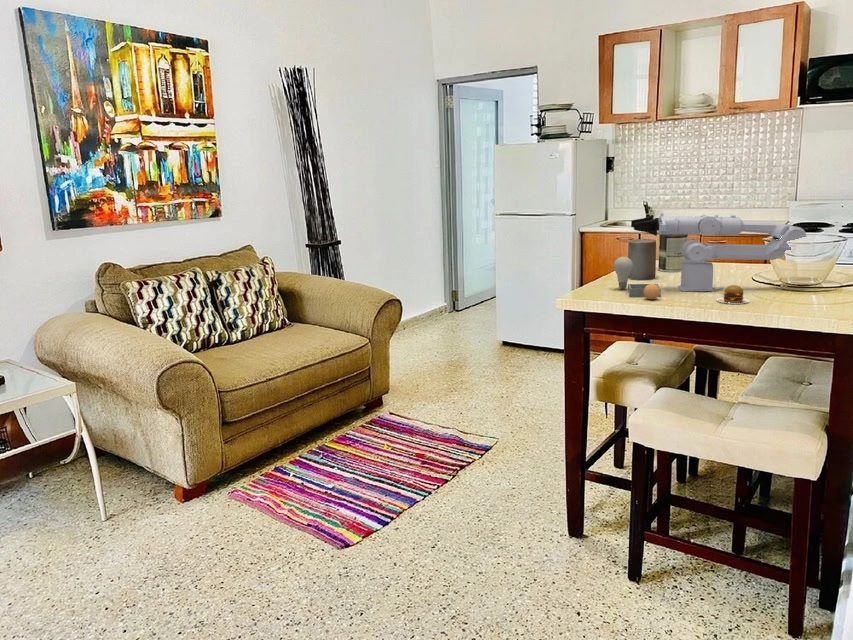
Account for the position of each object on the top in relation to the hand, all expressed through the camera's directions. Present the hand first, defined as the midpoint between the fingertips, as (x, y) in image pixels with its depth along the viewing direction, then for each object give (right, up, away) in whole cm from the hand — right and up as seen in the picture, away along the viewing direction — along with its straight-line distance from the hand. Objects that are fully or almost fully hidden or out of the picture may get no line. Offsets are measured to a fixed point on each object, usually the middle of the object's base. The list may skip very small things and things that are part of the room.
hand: (632, 225), depth 215 cm
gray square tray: (+2, -23, -3) cm, 23 cm away
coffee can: (+28, -12, +40) cm, 50 cm away
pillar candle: (+11, -16, +26) cm, 32 cm away
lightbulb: (-2, -21, +6) cm, 22 cm away
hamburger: (+23, -26, -19) cm, 40 cm away
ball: (+2, -25, -12) cm, 27 cm away
